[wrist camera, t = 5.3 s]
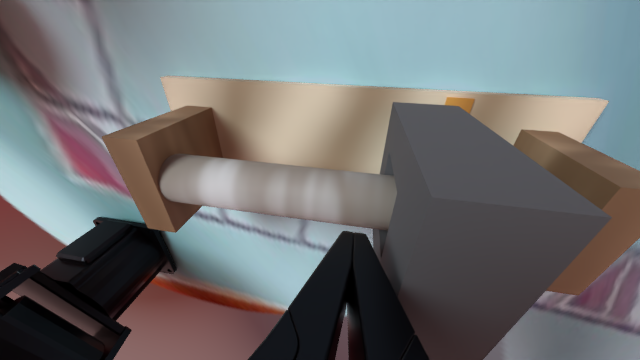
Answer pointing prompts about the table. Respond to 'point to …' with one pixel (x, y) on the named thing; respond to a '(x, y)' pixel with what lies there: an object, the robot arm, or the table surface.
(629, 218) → the pipe stand
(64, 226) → the table surface
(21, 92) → the table surface
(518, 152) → the grey sliding block
